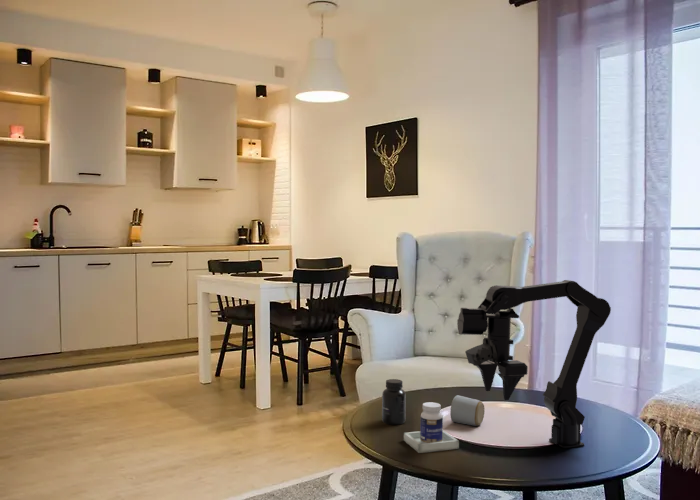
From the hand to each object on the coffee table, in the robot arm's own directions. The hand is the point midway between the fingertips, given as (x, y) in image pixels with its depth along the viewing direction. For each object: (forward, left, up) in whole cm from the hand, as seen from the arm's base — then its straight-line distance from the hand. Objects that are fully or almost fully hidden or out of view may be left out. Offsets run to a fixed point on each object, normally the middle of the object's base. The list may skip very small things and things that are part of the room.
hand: (496, 395), depth 161 cm
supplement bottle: (+18, -27, -13) cm, 35 cm away
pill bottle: (+16, -6, -13) cm, 21 cm away
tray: (+16, -6, -13) cm, 21 cm away
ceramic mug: (-3, -20, -13) cm, 24 cm away
